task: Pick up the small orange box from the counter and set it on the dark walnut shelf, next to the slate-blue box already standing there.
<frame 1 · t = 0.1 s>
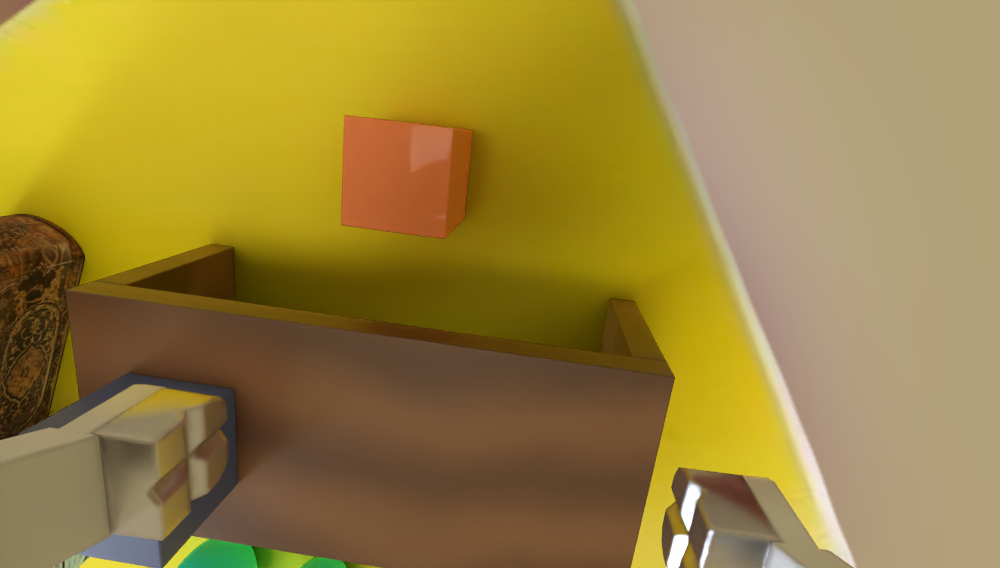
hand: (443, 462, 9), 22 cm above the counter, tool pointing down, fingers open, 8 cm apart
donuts: (291, 565, 38), on the counter
book: (28, 329, 35), on the counter
shelf: (411, 362, 33), on the counter
slate-blue box: (184, 429, 24), point 10 cm above the counter, touching shelf
orange box: (425, 170, 29), on the counter
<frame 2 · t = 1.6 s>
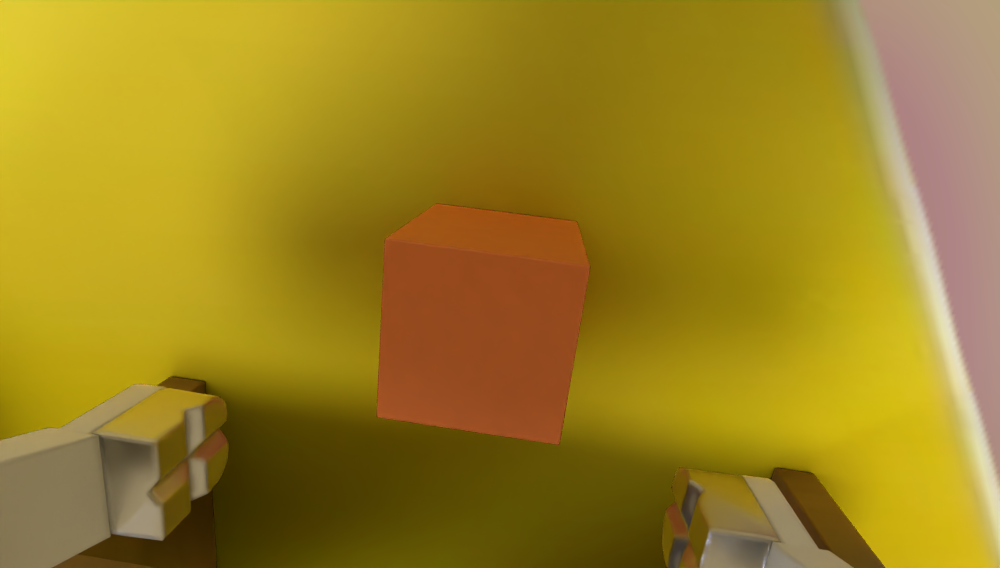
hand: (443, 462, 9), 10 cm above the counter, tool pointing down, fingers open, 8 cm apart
shelf: (467, 542, 22), on the counter
orange box: (498, 279, 19), on the counter
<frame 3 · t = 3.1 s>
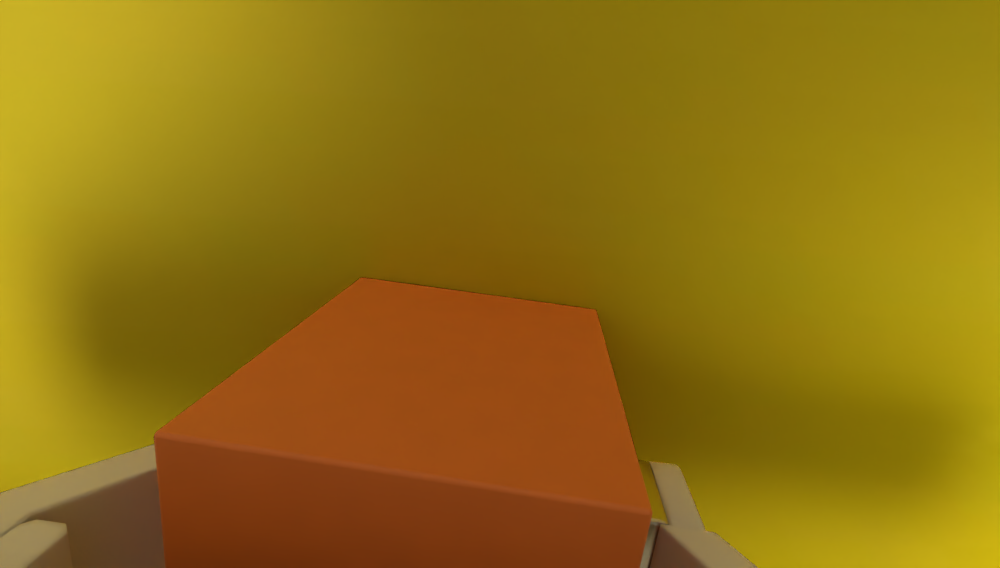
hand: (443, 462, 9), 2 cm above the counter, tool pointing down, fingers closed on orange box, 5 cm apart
orange box: (465, 398, 11), on the counter, touching gripper
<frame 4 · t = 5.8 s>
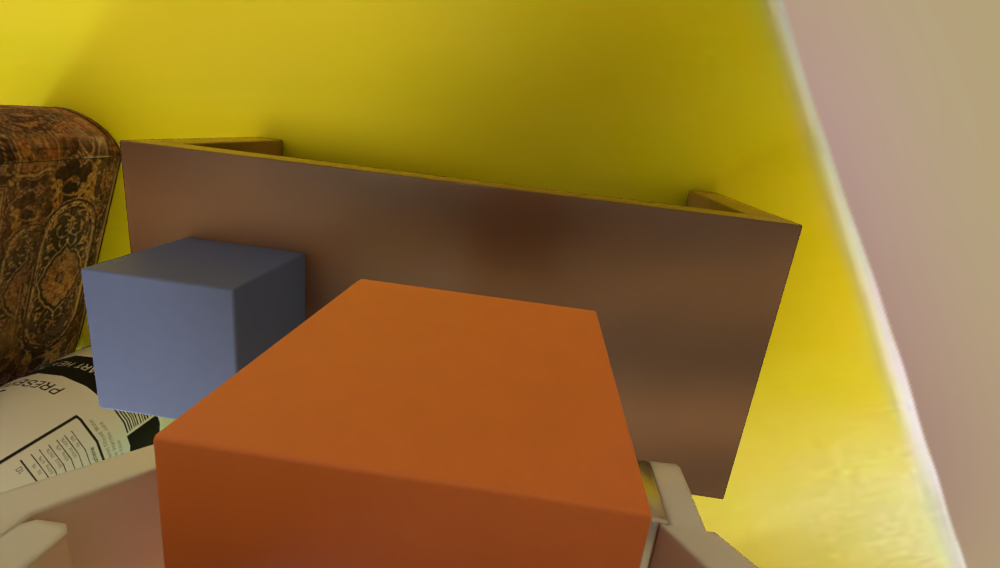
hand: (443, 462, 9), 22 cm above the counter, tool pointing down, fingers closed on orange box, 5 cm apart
supplement can: (137, 390, 35), on the counter
book: (60, 237, 33), on the counter
shelf: (471, 267, 31), on the counter
slate-blue box: (247, 302, 21), point 10 cm above the counter, touching shelf
orange box: (465, 400, 11), point 19 cm above the counter, touching gripper
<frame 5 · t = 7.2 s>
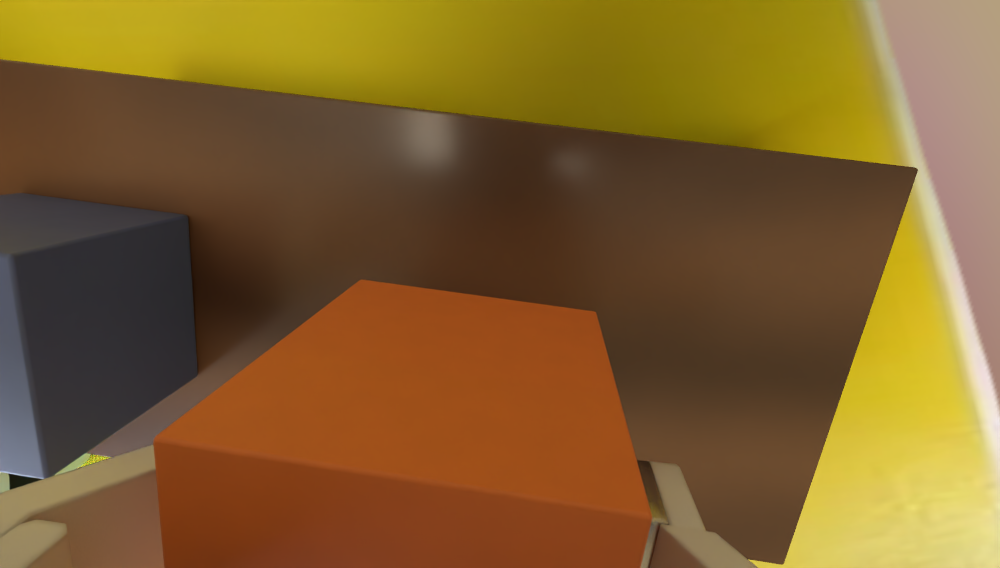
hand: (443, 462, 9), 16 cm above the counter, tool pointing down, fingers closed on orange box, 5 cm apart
supplement can: (42, 403, 29), on the counter
shelf: (445, 250, 24), on the counter
slate-blue box: (113, 287, 15), point 10 cm above the counter, touching shelf
orange box: (465, 400, 11), point 13 cm above the counter, touching gripper
when the fingers open (12 cm above the counter, at t = 8.5 s): orange box stays where it is, resting on shelf.
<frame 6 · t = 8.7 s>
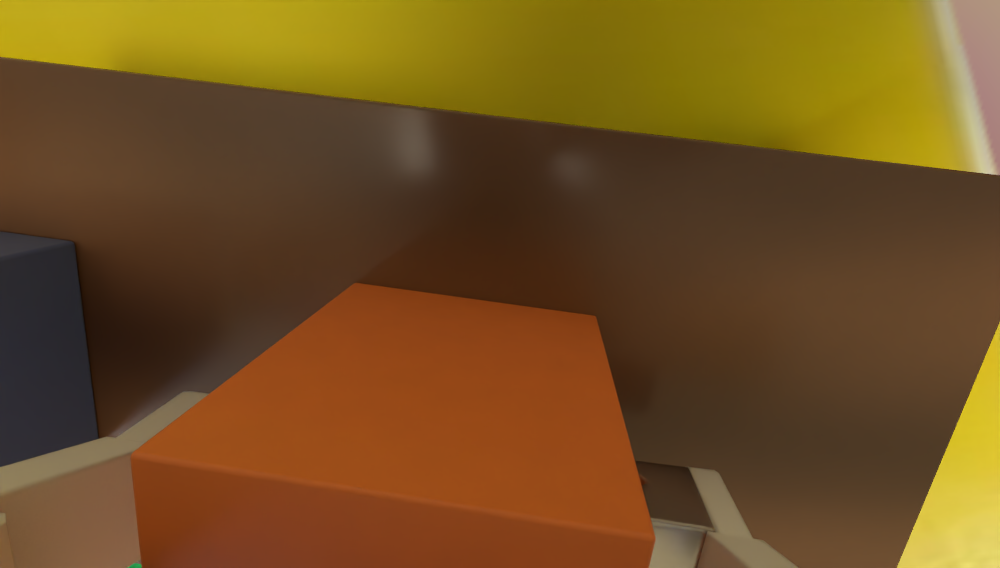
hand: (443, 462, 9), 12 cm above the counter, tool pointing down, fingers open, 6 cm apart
shelf: (427, 270, 21), on the counter
orange box: (462, 406, 11), point 10 cm above the counter, touching shelf
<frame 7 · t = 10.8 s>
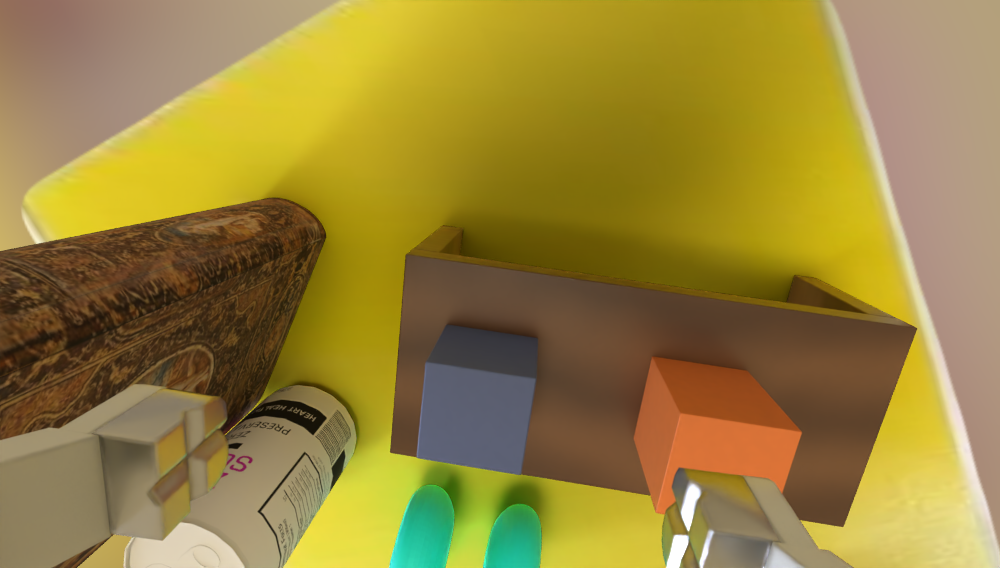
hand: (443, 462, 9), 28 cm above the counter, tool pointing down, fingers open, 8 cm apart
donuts: (474, 517, 43), on the counter
supplement can: (311, 426, 42), on the counter
book: (263, 300, 39), on the counter
shelf: (610, 331, 37), on the counter
slate-blue box: (486, 373, 28), point 10 cm above the counter, touching shelf
orange box: (688, 405, 28), point 10 cm above the counter, touching shelf
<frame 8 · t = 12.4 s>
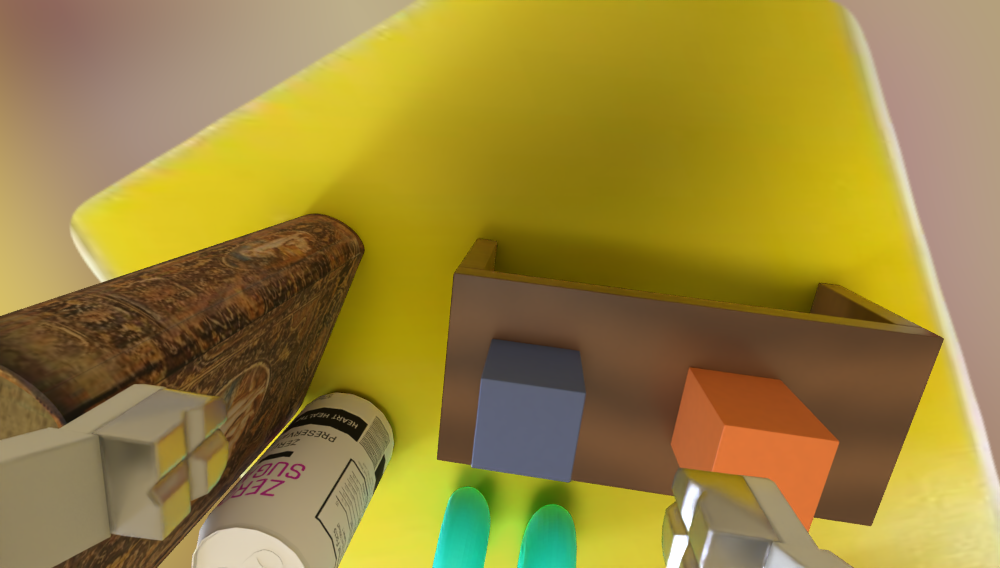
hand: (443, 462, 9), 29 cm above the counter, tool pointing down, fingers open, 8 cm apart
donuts: (506, 516, 45), on the counter
supplement can: (349, 431, 44), on the counter
book: (303, 311, 41), on the counter
shelf: (639, 338, 39), on the counter
slate-blue box: (530, 384, 30), point 10 cm above the counter, touching shelf
orange box: (723, 413, 29), point 10 cm above the counter, touching shelf
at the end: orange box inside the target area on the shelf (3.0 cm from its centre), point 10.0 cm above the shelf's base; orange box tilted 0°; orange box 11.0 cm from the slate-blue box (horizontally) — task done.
